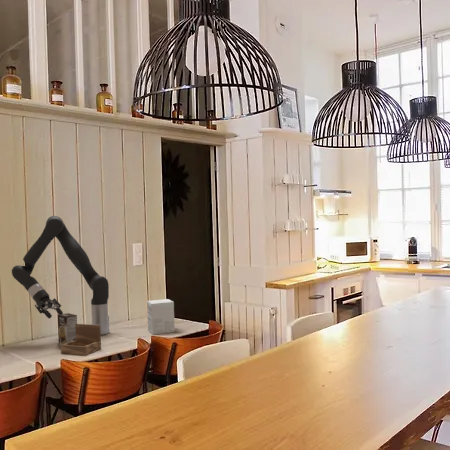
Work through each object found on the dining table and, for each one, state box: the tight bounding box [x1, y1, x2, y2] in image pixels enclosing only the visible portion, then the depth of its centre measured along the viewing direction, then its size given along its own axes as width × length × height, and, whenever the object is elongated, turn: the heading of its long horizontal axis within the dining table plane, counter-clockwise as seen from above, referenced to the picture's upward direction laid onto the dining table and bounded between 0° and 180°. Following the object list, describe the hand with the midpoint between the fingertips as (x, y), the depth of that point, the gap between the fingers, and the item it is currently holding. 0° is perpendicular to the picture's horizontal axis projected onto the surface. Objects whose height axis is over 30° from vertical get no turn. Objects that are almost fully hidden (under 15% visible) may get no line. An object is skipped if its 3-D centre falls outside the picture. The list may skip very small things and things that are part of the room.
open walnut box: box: [60, 323, 102, 356], centre depth 243 cm, size 13×14×12 cm
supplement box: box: [146, 298, 176, 335], centre depth 283 cm, size 13×13×18 cm
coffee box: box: [57, 312, 78, 347], centre depth 256 cm, size 9×6×16 cm
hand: (56, 315), depth 259 cm, fingers open, 8 cm apart
